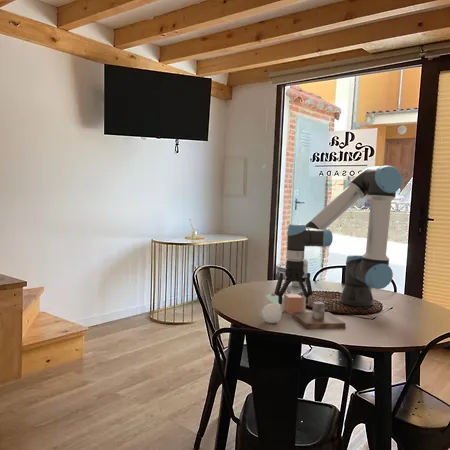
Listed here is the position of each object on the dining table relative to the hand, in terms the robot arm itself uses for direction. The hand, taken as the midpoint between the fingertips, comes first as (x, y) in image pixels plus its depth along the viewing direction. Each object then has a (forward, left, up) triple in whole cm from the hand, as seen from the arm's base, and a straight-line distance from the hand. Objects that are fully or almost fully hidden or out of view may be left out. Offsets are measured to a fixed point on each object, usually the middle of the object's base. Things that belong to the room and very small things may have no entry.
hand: (292, 311), depth 193 cm
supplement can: (-22, -52, -1) cm, 56 cm away
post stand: (-5, +16, 0) cm, 17 cm away
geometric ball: (+14, +15, -1) cm, 20 cm away
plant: (-4, -22, -1) cm, 22 cm away
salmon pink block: (0, 0, 0) cm, 0 cm away
